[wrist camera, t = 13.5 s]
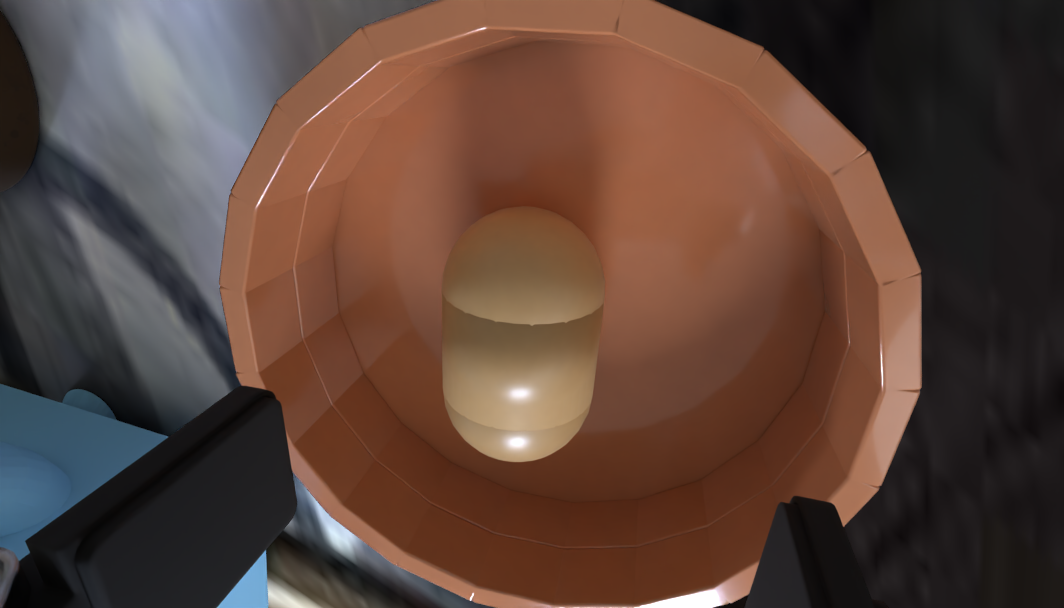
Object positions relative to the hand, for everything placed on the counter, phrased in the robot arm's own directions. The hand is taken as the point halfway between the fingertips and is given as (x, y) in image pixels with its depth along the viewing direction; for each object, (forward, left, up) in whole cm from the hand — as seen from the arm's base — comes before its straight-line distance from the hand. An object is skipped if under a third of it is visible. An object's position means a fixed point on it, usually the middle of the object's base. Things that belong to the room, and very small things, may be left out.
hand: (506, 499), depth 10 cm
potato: (+1, 0, -9) cm, 9 cm away
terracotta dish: (+1, 0, -9) cm, 9 cm away
